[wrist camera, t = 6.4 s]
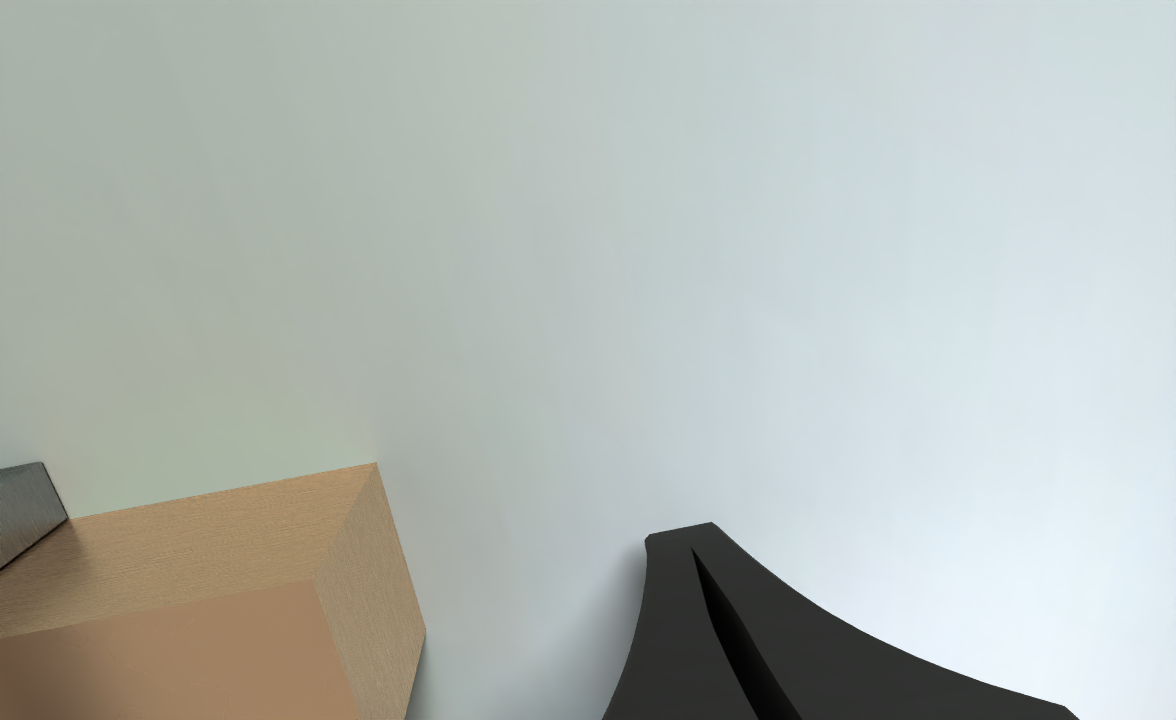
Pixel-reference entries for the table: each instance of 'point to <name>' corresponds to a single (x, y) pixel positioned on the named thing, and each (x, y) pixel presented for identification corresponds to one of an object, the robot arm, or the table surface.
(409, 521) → the table surface
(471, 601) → the table surface
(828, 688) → the robot arm
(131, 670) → the pine wood beam
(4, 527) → the gray metal beam bracket
